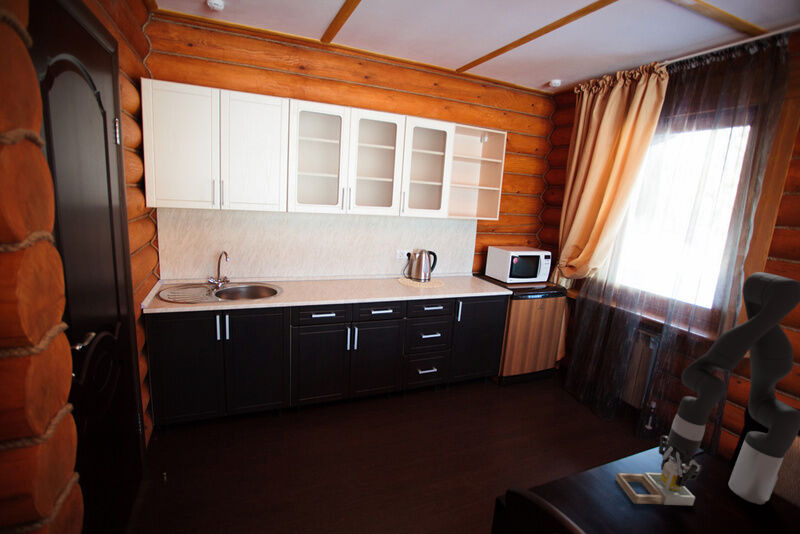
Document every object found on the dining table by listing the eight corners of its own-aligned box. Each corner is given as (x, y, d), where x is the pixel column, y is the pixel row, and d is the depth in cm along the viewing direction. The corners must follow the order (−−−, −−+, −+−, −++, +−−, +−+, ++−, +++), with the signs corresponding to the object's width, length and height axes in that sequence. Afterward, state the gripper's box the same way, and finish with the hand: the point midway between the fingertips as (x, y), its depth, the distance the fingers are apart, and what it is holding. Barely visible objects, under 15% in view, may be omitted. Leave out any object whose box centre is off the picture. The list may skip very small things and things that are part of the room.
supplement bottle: (656, 485, 119) (664, 459, 117) (661, 477, 122) (669, 452, 120) (675, 496, 115) (684, 470, 113) (681, 489, 118) (690, 463, 116)
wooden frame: (641, 480, 123) (643, 474, 123) (662, 504, 114) (664, 497, 114) (615, 479, 122) (617, 472, 122) (634, 503, 114) (636, 496, 113)
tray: (669, 481, 124) (671, 473, 124) (692, 505, 115) (695, 497, 114) (642, 480, 123) (644, 472, 123) (663, 504, 114) (666, 496, 114)
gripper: (719, 448, 107) (702, 497, 111) (679, 417, 121) (665, 461, 125) (695, 447, 107) (678, 496, 111) (658, 415, 121) (644, 460, 125)
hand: (671, 477), depth 118 cm, fingers closed on supplement bottle, 5 cm apart
